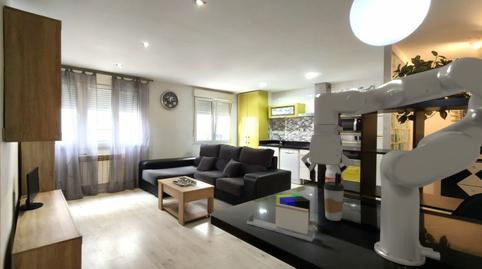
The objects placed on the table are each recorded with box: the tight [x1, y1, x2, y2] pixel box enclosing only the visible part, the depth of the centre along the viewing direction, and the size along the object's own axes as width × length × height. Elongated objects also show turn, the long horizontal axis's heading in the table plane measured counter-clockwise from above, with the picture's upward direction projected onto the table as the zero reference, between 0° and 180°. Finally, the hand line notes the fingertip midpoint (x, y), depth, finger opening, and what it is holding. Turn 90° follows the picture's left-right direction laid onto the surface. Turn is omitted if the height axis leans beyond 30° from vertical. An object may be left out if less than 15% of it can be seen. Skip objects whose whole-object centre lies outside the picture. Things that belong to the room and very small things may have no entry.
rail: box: [246, 213, 316, 243], centre depth 85 cm, size 26×4×3 cm, turn 56°
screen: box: [274, 203, 309, 234], centre depth 82 cm, size 12×1×8 cm, turn 56°
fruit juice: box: [324, 162, 344, 185], centre depth 130 cm, size 9×9×28 cm
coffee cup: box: [323, 181, 345, 222], centre depth 98 cm, size 8×8×15 cm
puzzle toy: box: [275, 193, 311, 227], centre depth 94 cm, size 10×10×10 cm
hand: (324, 183), depth 76 cm, fingers open, 7 cm apart
